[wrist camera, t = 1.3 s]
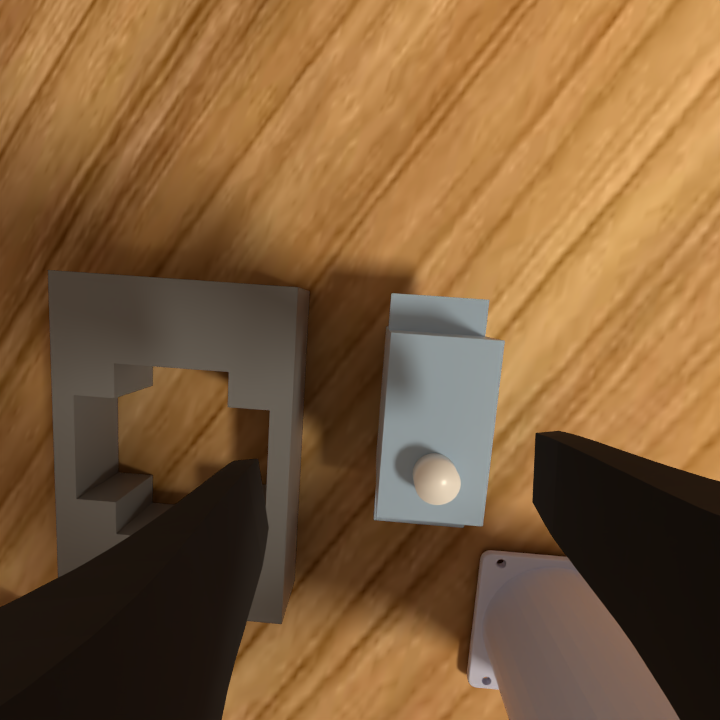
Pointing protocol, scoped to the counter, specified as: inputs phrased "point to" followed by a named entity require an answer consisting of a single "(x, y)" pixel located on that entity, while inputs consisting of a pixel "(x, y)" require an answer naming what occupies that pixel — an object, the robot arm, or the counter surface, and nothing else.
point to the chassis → (135, 372)
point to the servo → (436, 411)
